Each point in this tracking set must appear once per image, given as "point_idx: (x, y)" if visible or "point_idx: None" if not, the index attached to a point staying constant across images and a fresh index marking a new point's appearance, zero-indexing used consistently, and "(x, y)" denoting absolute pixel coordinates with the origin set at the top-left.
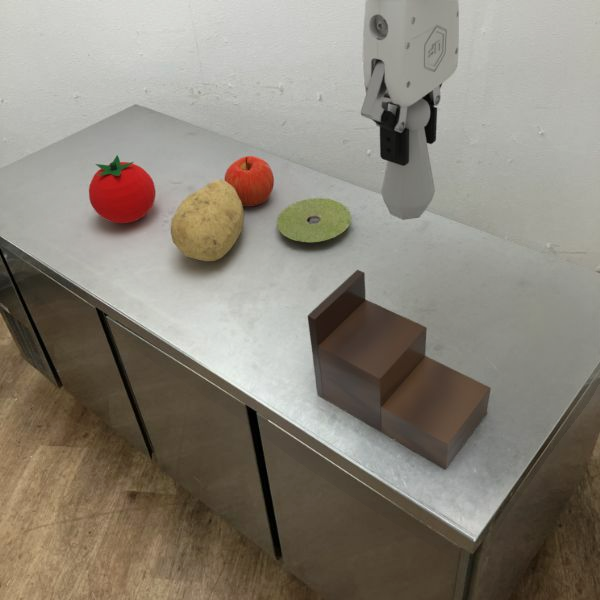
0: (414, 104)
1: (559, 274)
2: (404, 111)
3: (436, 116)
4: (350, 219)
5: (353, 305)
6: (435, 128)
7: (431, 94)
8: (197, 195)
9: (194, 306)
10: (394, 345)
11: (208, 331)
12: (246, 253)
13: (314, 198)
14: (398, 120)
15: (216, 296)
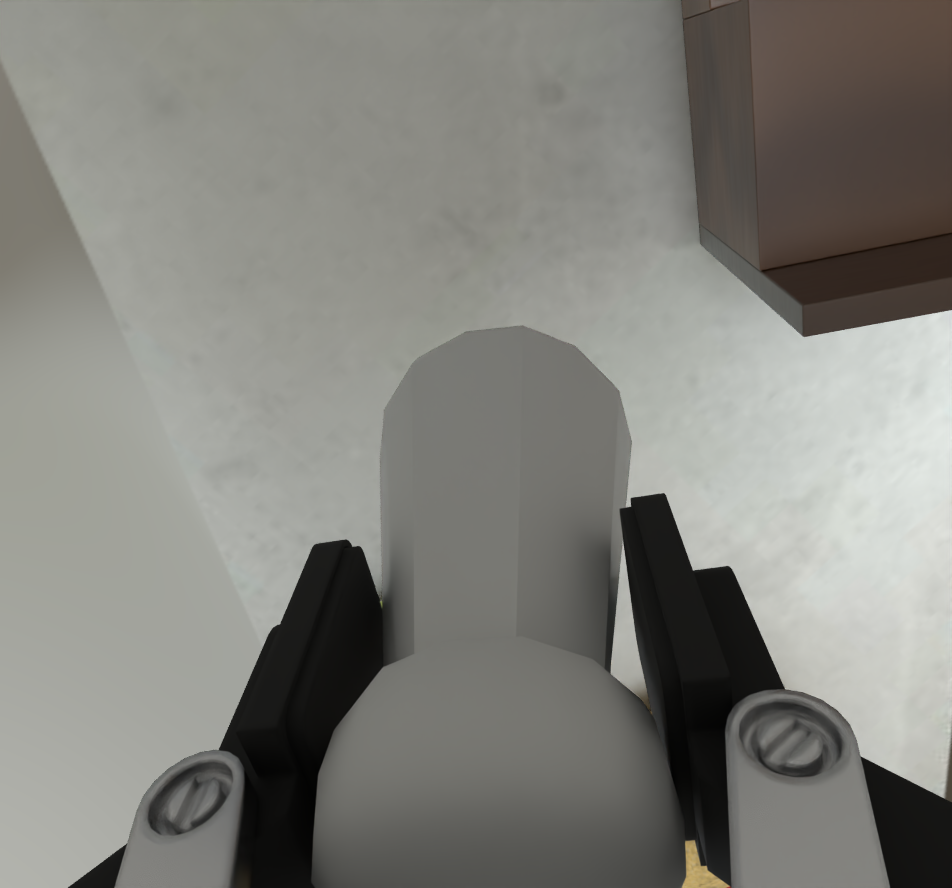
0: (501, 879)
1: (40, 46)
2: (787, 878)
3: (266, 670)
4: (380, 602)
5: (840, 263)
6: (301, 602)
7: (241, 883)
8: (709, 882)
9: (845, 625)
10: (899, 15)
11: (890, 547)
12: (632, 675)
13: None
14: (865, 814)
15: (788, 617)
